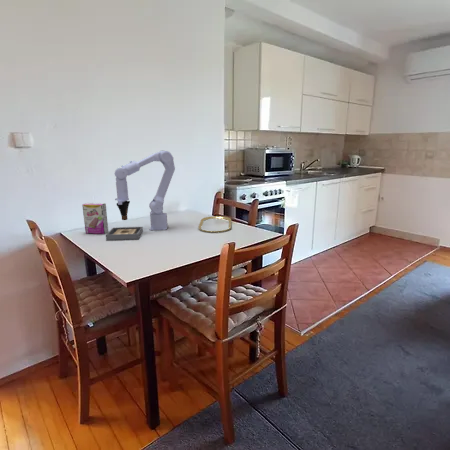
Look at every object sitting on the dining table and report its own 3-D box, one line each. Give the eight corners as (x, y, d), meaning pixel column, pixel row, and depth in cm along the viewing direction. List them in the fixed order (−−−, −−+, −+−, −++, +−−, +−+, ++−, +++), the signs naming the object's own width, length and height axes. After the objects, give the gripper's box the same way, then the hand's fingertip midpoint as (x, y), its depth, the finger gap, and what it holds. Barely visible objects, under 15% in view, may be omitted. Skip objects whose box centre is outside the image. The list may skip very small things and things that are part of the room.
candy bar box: (85, 234, 177) (81, 204, 173) (89, 231, 182) (86, 202, 178) (104, 234, 176) (101, 204, 172) (109, 231, 181) (106, 202, 177)
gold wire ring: (231, 218, 211) (231, 216, 210) (231, 233, 177) (231, 231, 176) (202, 218, 211) (202, 216, 211) (196, 233, 177) (196, 231, 177)
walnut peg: (128, 218, 181) (126, 204, 179) (126, 220, 178) (125, 205, 176) (122, 218, 181) (121, 204, 179) (121, 220, 178) (119, 205, 176)
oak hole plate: (136, 232, 178) (136, 228, 177) (133, 237, 168) (132, 234, 167) (118, 232, 177) (117, 229, 176) (113, 238, 167) (112, 234, 167)
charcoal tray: (143, 232, 180) (142, 226, 179) (138, 239, 166) (137, 234, 166) (113, 232, 179) (112, 227, 178) (106, 240, 165) (105, 234, 165)
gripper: (118, 188, 182) (120, 212, 185) (110, 192, 168) (113, 218, 171) (131, 188, 182) (132, 212, 186) (124, 192, 168) (127, 218, 172)
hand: (124, 215), depth 179 cm, fingers closed on walnut peg, 3 cm apart
